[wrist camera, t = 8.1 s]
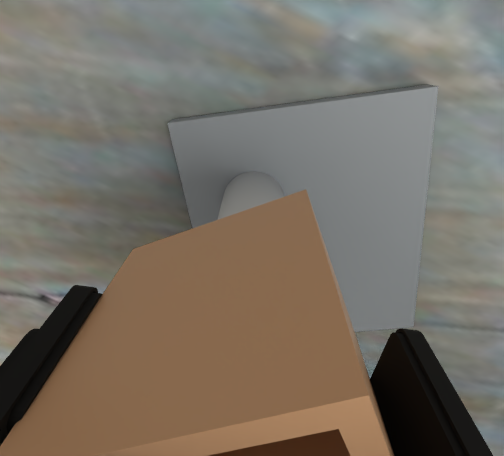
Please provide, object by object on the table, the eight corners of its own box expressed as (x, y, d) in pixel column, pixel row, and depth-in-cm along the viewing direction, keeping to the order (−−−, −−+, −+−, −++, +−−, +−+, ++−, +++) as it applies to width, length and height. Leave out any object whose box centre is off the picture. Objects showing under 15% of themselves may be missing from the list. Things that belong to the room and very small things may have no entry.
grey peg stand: (407, 315, 26) (500, 483, 16) (221, 331, 27) (198, 498, 17) (427, 84, 18) (626, 123, 8) (172, 119, 20) (81, 190, 10)
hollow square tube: (354, 332, 13) (440, 596, 7) (207, 369, 14) (162, 625, 8) (306, 189, 10) (368, 395, 4) (133, 249, 12) (-24, 481, 5)
